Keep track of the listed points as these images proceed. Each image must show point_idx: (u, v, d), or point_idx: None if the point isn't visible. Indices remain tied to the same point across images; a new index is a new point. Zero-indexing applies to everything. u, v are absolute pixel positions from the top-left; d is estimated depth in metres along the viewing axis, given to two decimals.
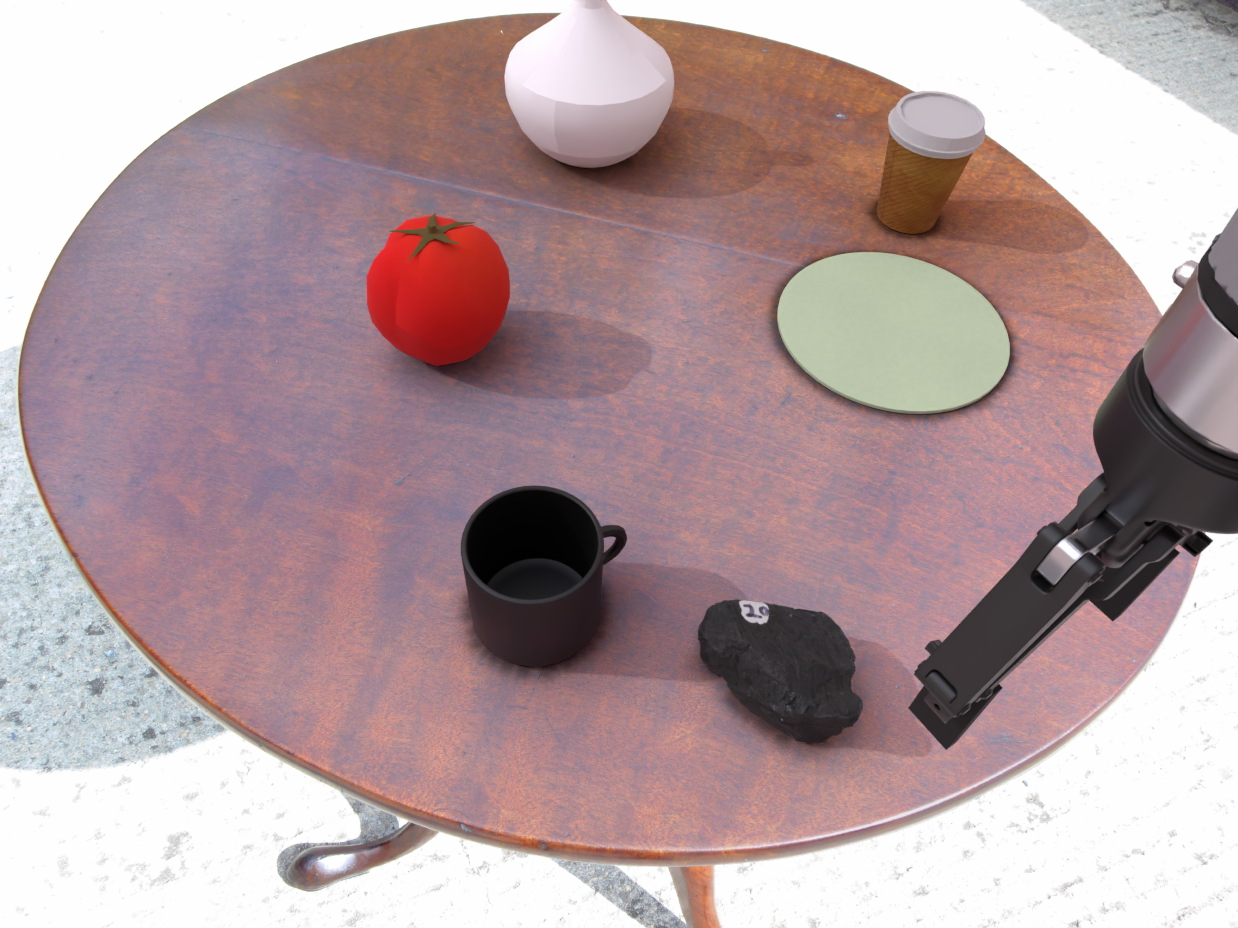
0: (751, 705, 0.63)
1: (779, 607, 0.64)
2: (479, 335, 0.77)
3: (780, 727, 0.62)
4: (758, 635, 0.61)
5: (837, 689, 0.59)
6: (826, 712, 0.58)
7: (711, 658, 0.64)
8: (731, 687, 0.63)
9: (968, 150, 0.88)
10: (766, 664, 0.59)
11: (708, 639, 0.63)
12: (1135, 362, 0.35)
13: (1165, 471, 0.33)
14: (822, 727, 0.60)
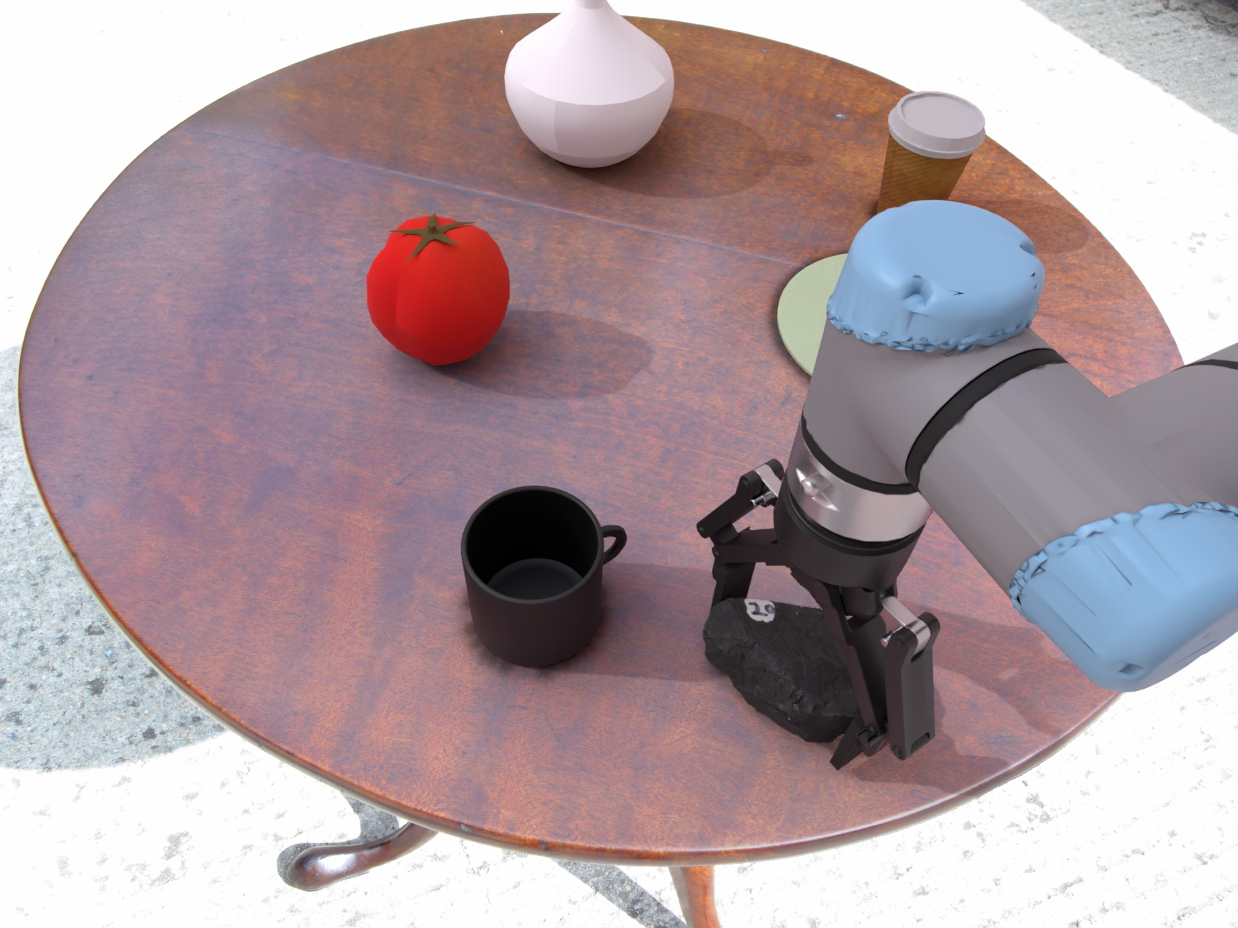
0: (758, 705, 0.62)
1: (785, 605, 0.63)
2: (479, 335, 0.77)
3: (787, 727, 0.61)
4: (764, 633, 0.60)
5: (845, 687, 0.58)
6: (834, 710, 0.57)
7: (716, 657, 0.63)
8: (737, 687, 0.62)
9: (968, 150, 0.88)
10: (772, 662, 0.58)
11: (713, 638, 0.62)
12: (820, 540, 0.45)
13: (907, 553, 0.46)
14: (830, 727, 0.59)
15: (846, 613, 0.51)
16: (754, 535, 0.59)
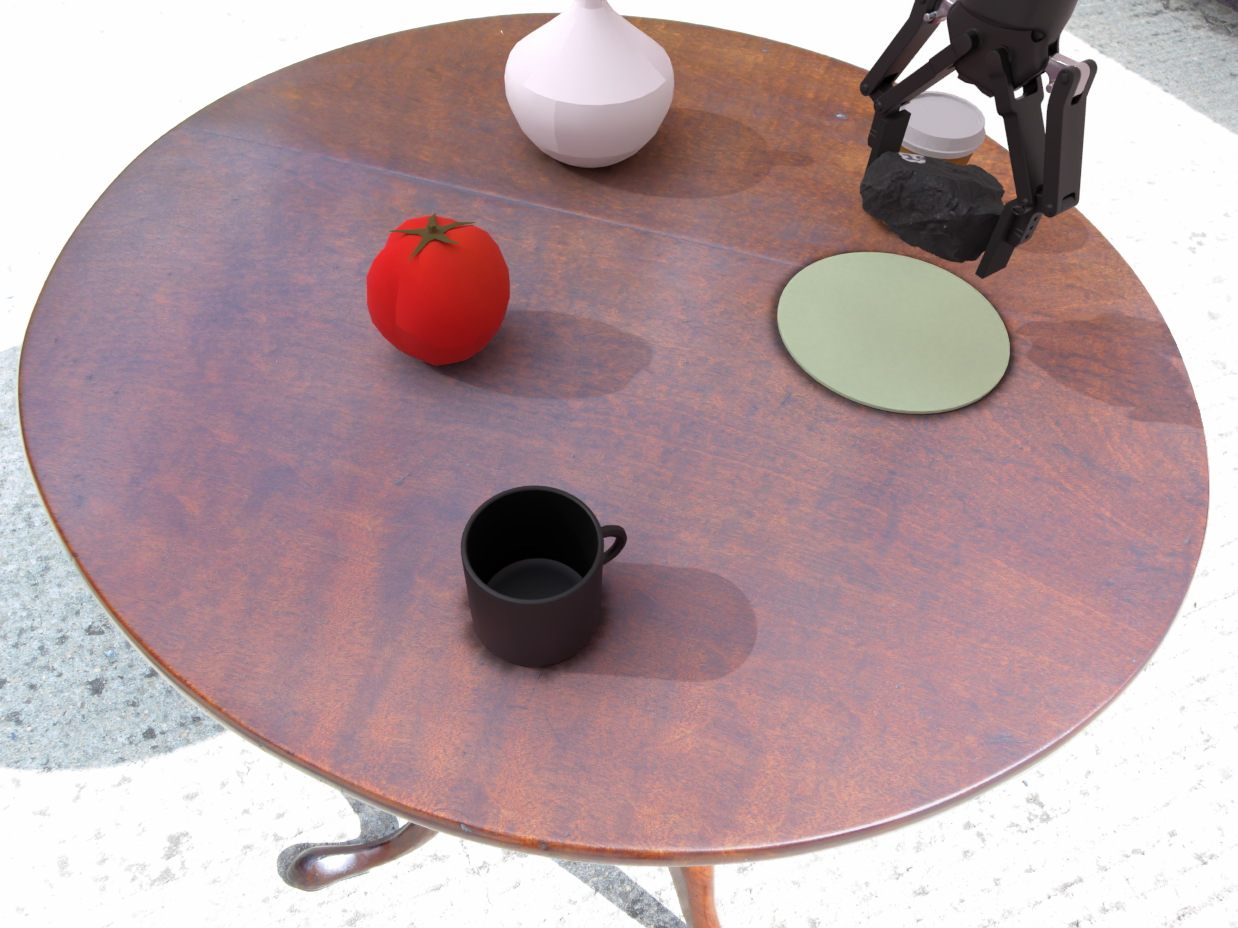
0: (911, 237, 0.73)
1: (933, 158, 0.74)
2: (479, 335, 0.77)
3: (938, 250, 0.72)
4: (920, 167, 0.71)
5: (992, 201, 0.70)
6: (985, 210, 0.68)
7: (874, 203, 0.74)
8: (892, 226, 0.73)
9: (968, 150, 0.88)
10: (931, 180, 0.70)
11: (872, 185, 0.73)
12: None
13: None
14: (978, 237, 0.70)
15: (1012, 83, 0.62)
16: None
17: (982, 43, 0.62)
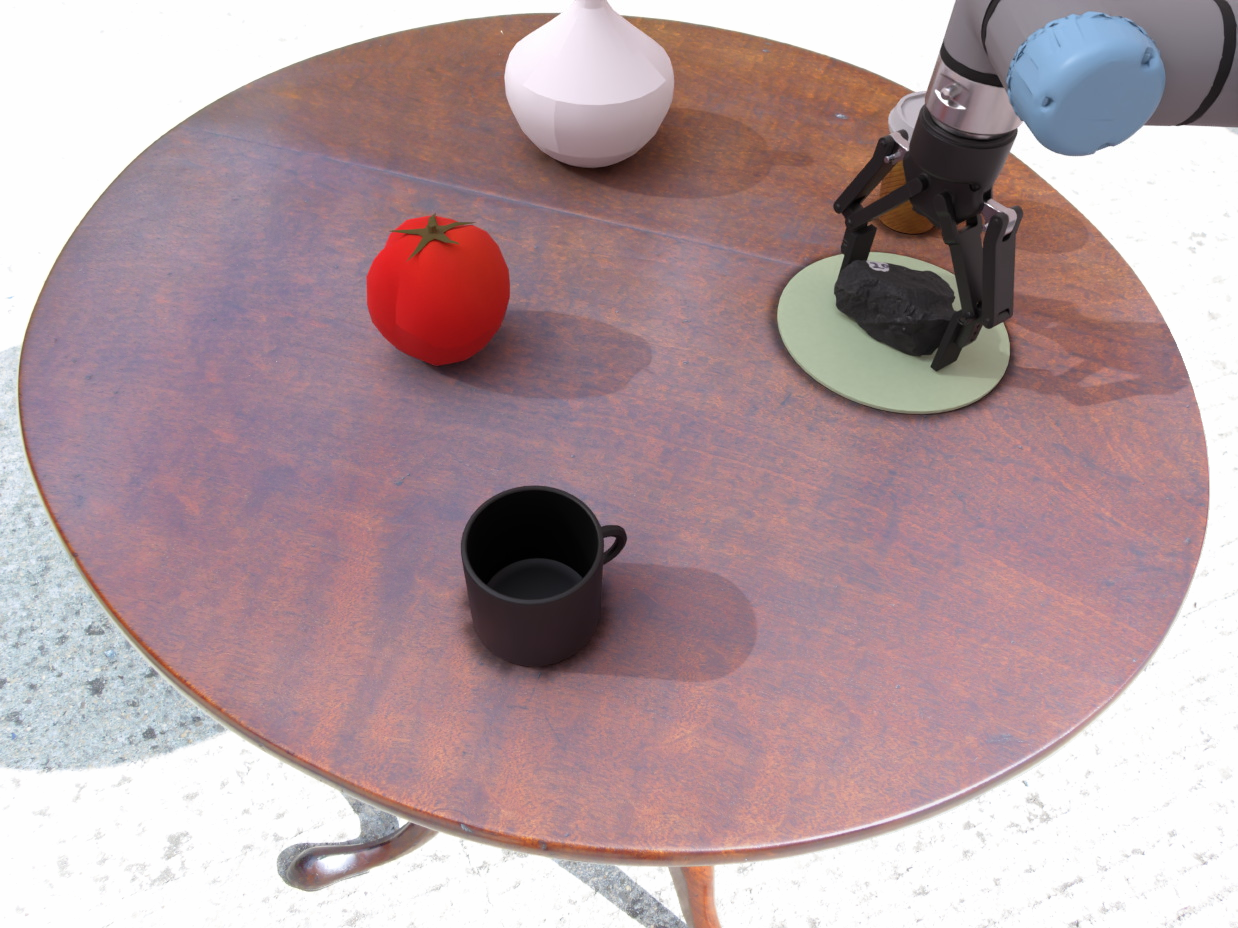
0: (876, 334, 0.86)
1: (895, 265, 0.86)
2: (479, 335, 0.77)
3: (899, 345, 0.85)
4: (884, 275, 0.84)
5: (943, 307, 0.82)
6: (937, 316, 0.81)
7: (845, 303, 0.87)
8: (860, 323, 0.86)
9: None
10: (892, 289, 0.82)
11: (843, 288, 0.86)
12: (948, 141, 0.69)
13: (1003, 155, 0.70)
14: (932, 336, 0.83)
15: (956, 220, 0.75)
16: None
17: (931, 186, 0.75)
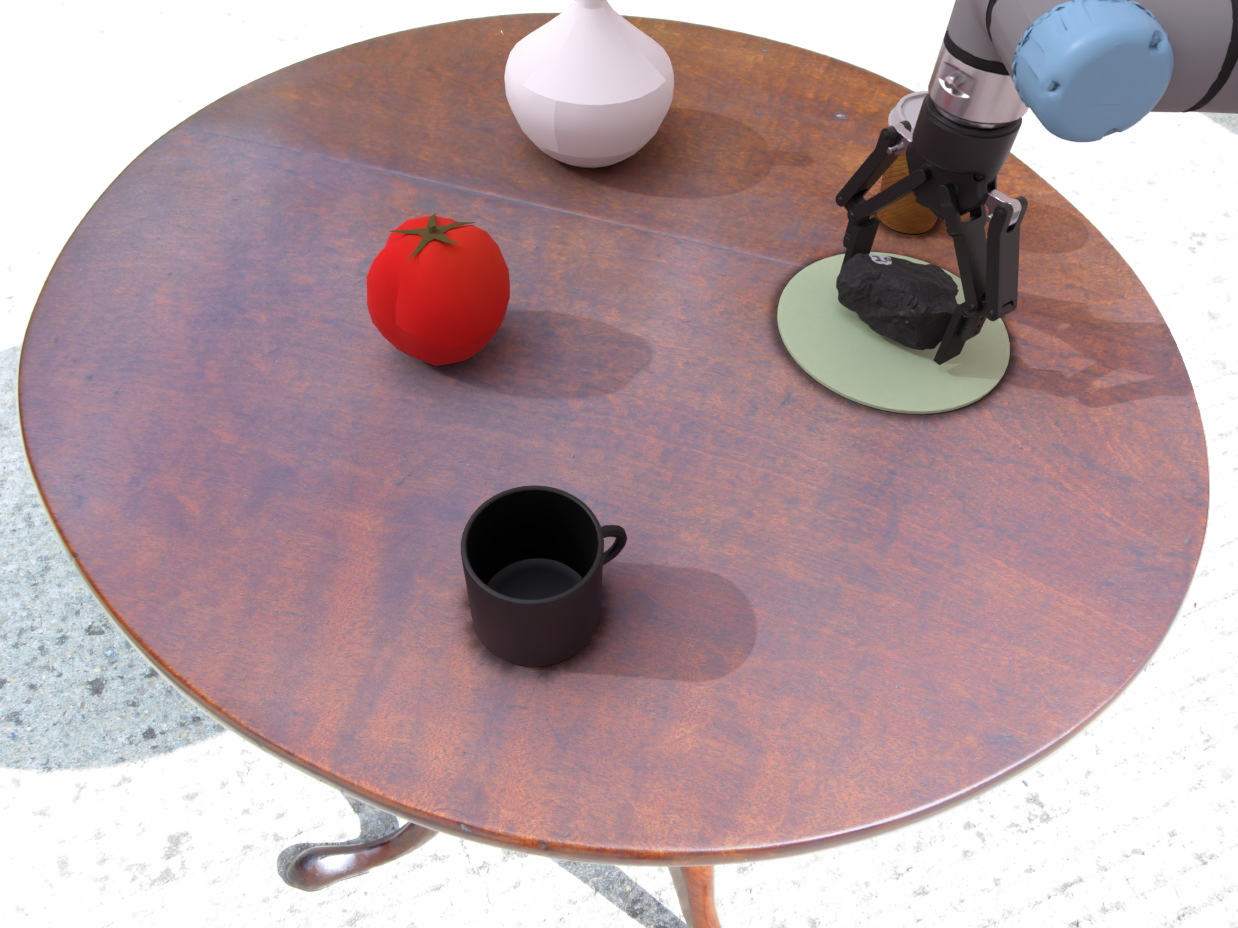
0: (879, 327, 0.85)
1: (898, 258, 0.86)
2: (479, 335, 0.77)
3: (902, 339, 0.84)
4: (886, 269, 0.83)
5: (947, 300, 0.82)
6: (941, 309, 0.80)
7: (848, 297, 0.86)
8: (863, 317, 0.86)
9: None
10: (895, 282, 0.82)
11: (846, 282, 0.86)
12: (952, 130, 0.68)
13: (1008, 144, 0.69)
14: (936, 330, 0.82)
15: (959, 211, 0.74)
16: None
17: (934, 176, 0.75)
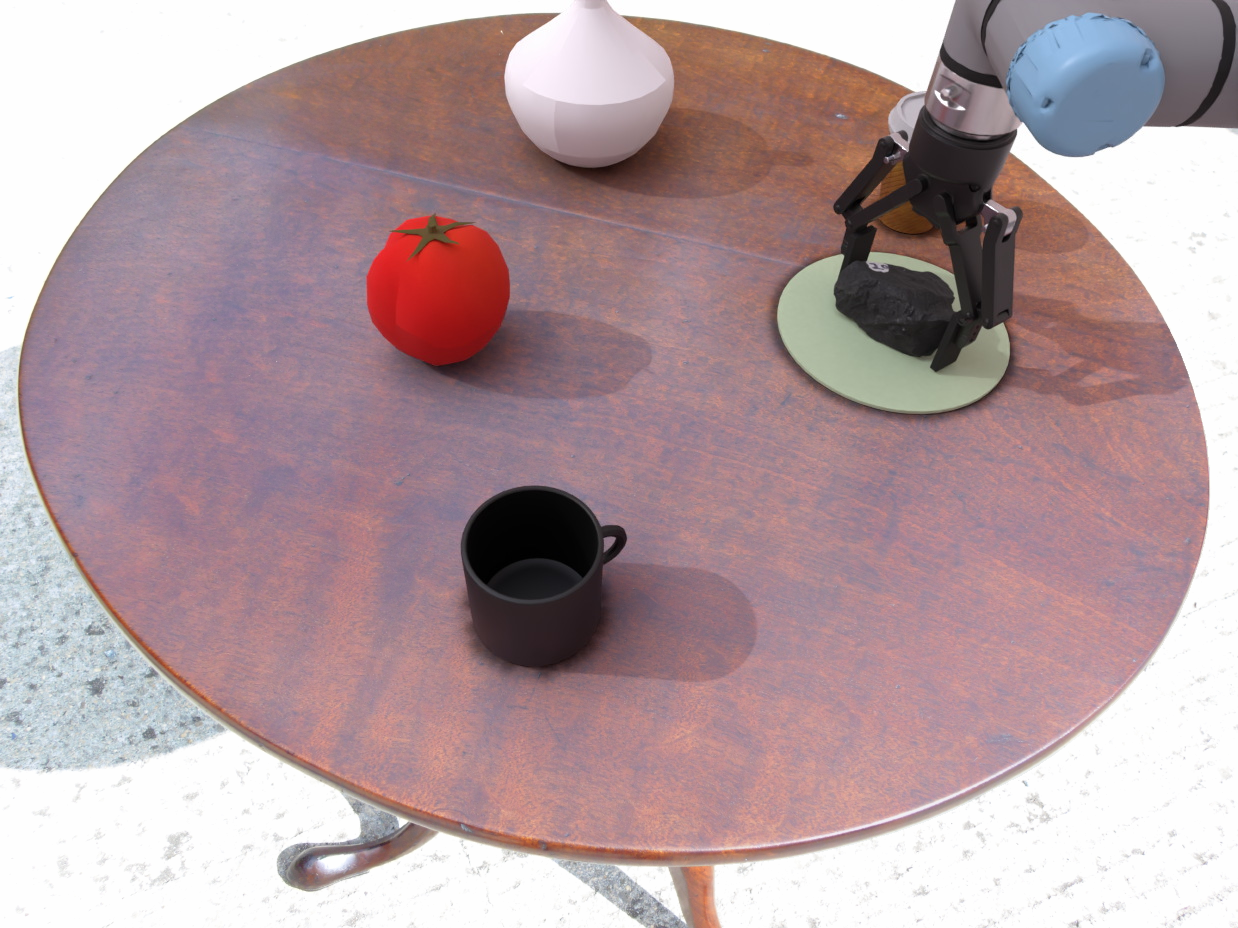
0: (876, 334, 0.86)
1: (895, 266, 0.86)
2: (479, 335, 0.77)
3: (898, 346, 0.85)
4: (883, 276, 0.84)
5: (943, 308, 0.82)
6: (937, 317, 0.81)
7: (845, 304, 0.87)
8: (860, 324, 0.86)
9: None
10: (892, 290, 0.82)
11: (843, 289, 0.86)
12: (948, 142, 0.69)
13: (1003, 156, 0.70)
14: (932, 337, 0.83)
15: (955, 220, 0.75)
16: None
17: (931, 186, 0.75)
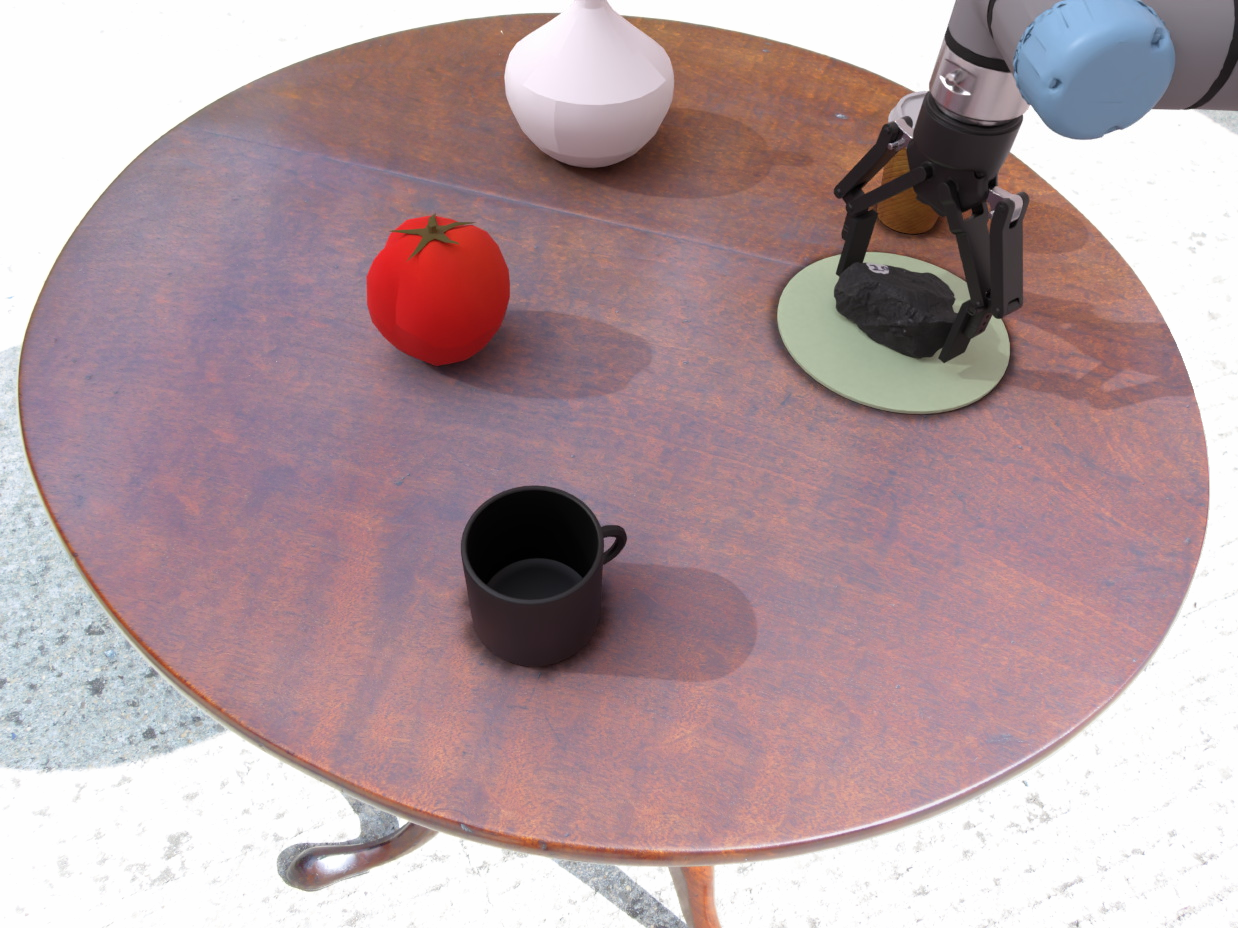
0: (877, 336, 0.86)
1: (895, 267, 0.86)
2: (479, 335, 0.77)
3: (899, 348, 0.85)
4: (884, 278, 0.84)
5: (944, 309, 0.82)
6: (938, 319, 0.81)
7: (845, 306, 0.86)
8: (861, 326, 0.86)
9: None
10: (892, 292, 0.82)
11: (844, 291, 0.86)
12: (953, 128, 0.68)
13: (1009, 142, 0.69)
14: (933, 339, 0.83)
15: None
16: None
17: (935, 174, 0.74)
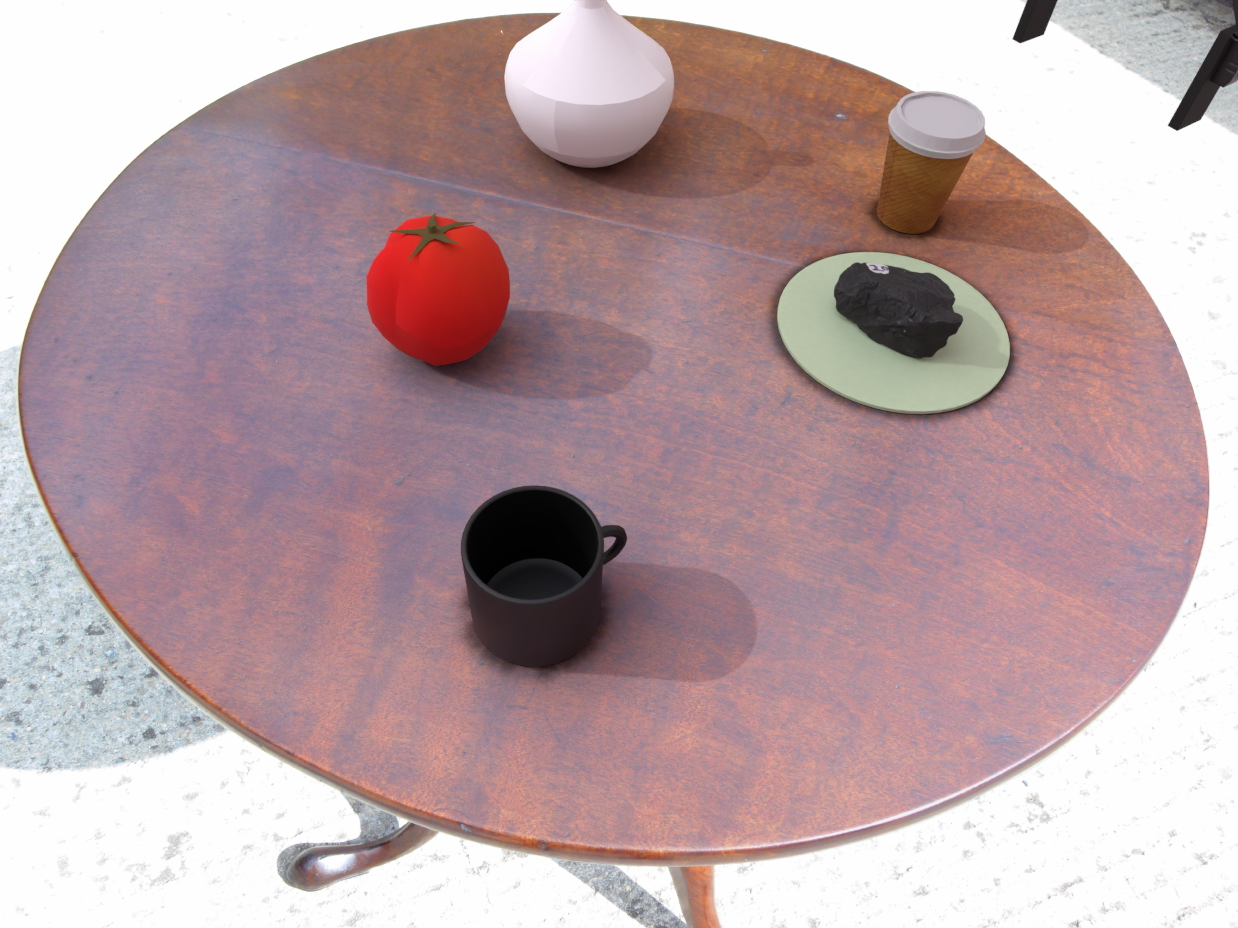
0: (877, 336, 0.86)
1: (895, 267, 0.86)
2: (479, 335, 0.77)
3: (899, 348, 0.85)
4: (884, 278, 0.84)
5: (944, 309, 0.82)
6: (938, 319, 0.81)
7: (846, 306, 0.86)
8: (861, 326, 0.86)
9: (968, 150, 0.88)
10: (892, 292, 0.82)
11: (844, 291, 0.86)
12: None
13: None
14: (933, 339, 0.83)
15: None
16: None
17: None
